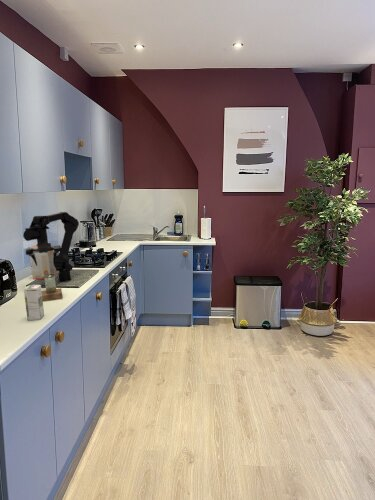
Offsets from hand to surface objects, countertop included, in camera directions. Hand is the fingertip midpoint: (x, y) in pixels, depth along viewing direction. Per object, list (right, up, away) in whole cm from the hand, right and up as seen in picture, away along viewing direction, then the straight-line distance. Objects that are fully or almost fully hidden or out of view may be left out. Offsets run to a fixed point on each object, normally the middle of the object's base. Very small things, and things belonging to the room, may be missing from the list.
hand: (45, 264), depth 217 cm
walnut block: (+11, -16, -19) cm, 27 cm away
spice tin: (+10, -13, -20) cm, 26 cm away
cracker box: (-8, -10, +21) cm, 25 cm away
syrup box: (+14, -22, -48) cm, 55 cm away
